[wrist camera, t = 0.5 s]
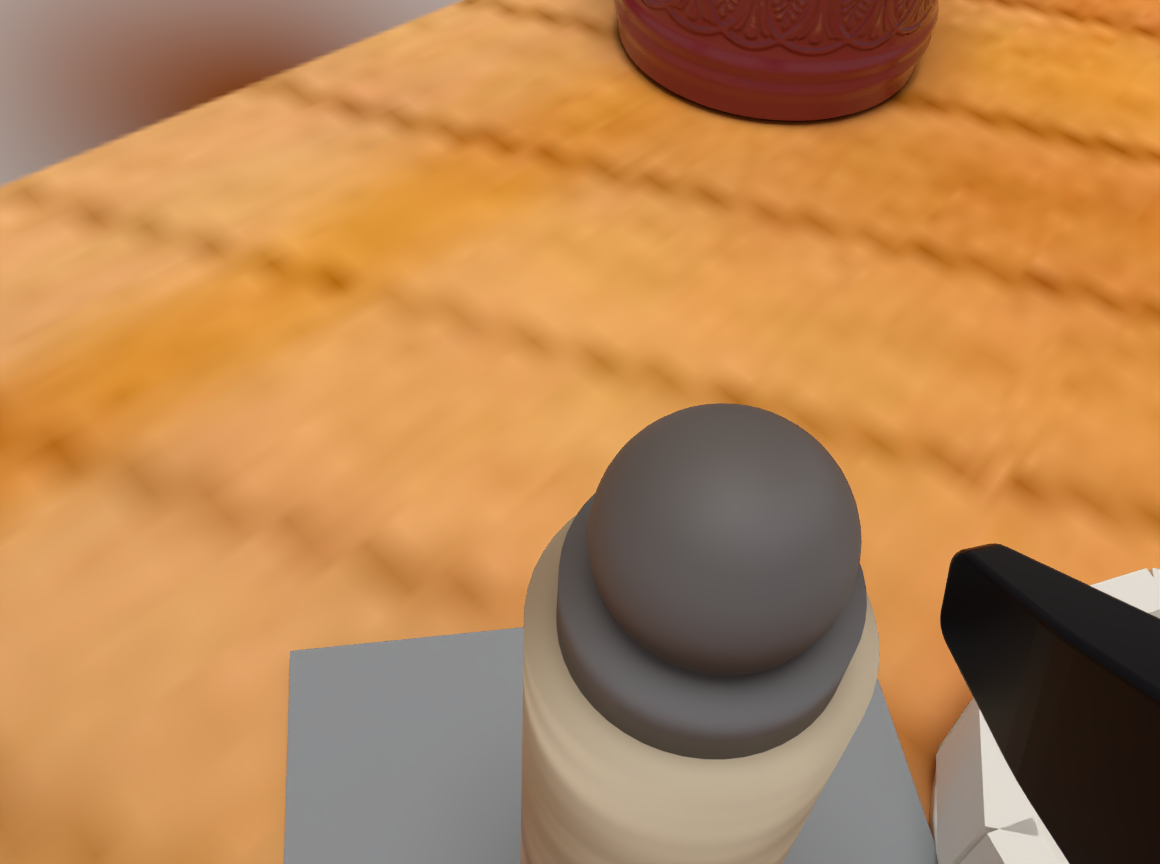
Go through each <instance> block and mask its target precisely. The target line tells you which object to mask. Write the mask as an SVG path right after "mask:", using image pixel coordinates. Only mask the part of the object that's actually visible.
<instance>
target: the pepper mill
mask: <svg viewBox="0 0 1160 864" xmlns="http://www.w3.org/2000/svg"><path fill="white" fill-rule="evenodd" d="M860 554H861V526H860V520H859V515H858V510H857V505H856V502H855V499H854V496H853V494H852V491H851V488H850V486H849V484H848V481H847V480H846V478H845V476H844V474H843V472H842V470H841V469H840V467H839V466H838V464H837V463H836V462H835V460H834V459H833V457H832V456H831V455H830V454H829V452H828V451H827V450H826V449H825V448H824V447H823V446H822V445H821V444H820V443H819V442H818V441H817V440H816V439H815V438H814V437H813V436H811V435H810V434H809V433H808V432H806V431H805V430H804V429H802V428H801V427H799V426H798V425H796V424H794V423H792V422H791V421H789V420H787V419H785V418H783V417H781V416H779V415H777V414H774V413H772V412H769V411H766V410H763V409H760V408H756V407H752V406H747V405H739V404H706V405H699V406H694V407H689V408H686V409H683V410H679V411H677V412H674V413H672V414H670V415H667V416H665V417H663V418H661V419H659V420H657V421H655V422H653V423H652V424H650V425H648V426H647V427H646V428H644V429H643V430H642V431H640V432H639V433H638V434H637V435H635V436H634V437H633V438H632V439H631V440H630V441H629V442H628V443H627V444H626V445H625V446H624V447H623V448H622V449H621V450H620V451H619V453H618V454H617V455H616V457H615V458H614V459H613V461H612V462H611V463H610V465H609V466H608V468H607V469H606V471H605V473H604V475H603V477H602V479H601V481H600V484H599V486H598V488H597V490H596V493H595V494H594V495H593V496H592V497H591V498H590V499H589V500H588V501H587V502H586V503H585V504H584V505H583V507H582V508H581V510H580V511H579V512H578V514H577V515H576V516H575V517H573V518H572V519H571V520H570V521H568V522H567V523H566V524H565V526H564V527H563V528H562V529H561V530H560V531H559V532H558V533H557V534H556V535H555V536H554V537H553V539H552V540H551V542H550V543H549V544H548V546H547V547H546V549H545V550H544V551H543V553H542V555H541V557H540V559H539V561H538V563H537V565H536V567H535V568H534V571H533V574H532V577H531V580H530V583H529V586H528V590H527V595H526V601H525V606H524V642H523V718H522V794H521V864H782V863H783V861H784V860H785V858H786V856H787V854H788V852H789V850H790V849H791V847H792V845H793V843H794V841H795V840H796V838H797V836H798V834H799V832H800V830H801V829H802V827H803V825H804V823H805V821H806V820H807V818H808V816H809V814H810V812H811V810H812V809H813V807H814V805H815V803H816V801H817V800H818V798H819V796H820V794H821V792H822V790H823V789H824V787H825V785H826V783H827V781H828V780H829V778H830V776H831V774H832V772H833V771H834V769H835V767H836V765H837V763H838V761H839V760H840V758H841V756H842V754H843V752H844V751H845V749H846V747H847V745H848V743H849V741H850V740H851V738H852V736H853V734H854V732H855V731H856V729H857V727H858V725H859V723H860V721H861V720H862V718H863V716H864V714H865V712H866V709H867V707H868V705H869V702H870V700H871V698H872V695H873V692H874V688H875V684H876V680H877V676H878V666H879V656H880V653H879V636H878V630H877V625H876V620H875V615H874V612H873V609H872V606H871V603H870V600H869V597H868V595H867V592H866V586H865V581H864V576H863V571H862V568H861V566H860Z"/></svg>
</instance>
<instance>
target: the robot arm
mask: <svg viewBox="0 0 1160 864" xmlns="http://www.w3.org/2000/svg"><path fill="white" fill-rule="evenodd" d="M940 621H941V629H942V633H943V636H944V639H945V641H946V644H947V646H948V648H949V650H950V652H951V654H952V656H953V658H954V660H955V662H956V664H957V666H958V668H959V670H960V672H961V674H962V676H963V678H964V679H965V681H966V683H967V685H968V687H969V689H970V691H971V693H972V695H973V697H974V699H975V701H976V703H977V705H978V707H979V709H980V711H981V713H982V715H983V717H984V719H985V721H986V723H987V725H988V727H989V729H990V731H991V733H992V735H993V737H994V739H995V741H996V743H997V745H998V747H999V749H1000V751H1001V753H1002V755H1003V757H1004V759H1005V760H1006V762H1007V764H1008V766H1009V768H1010V770H1011V772H1012V773H1013V775H1014V777H1015V779H1016V781H1017V782H1018V784H1019V786H1020V787H1021V789H1022V790H1023V792H1024V794H1025V795H1026V797H1027V799H1028V800H1029V802H1030V803H1031V805H1032V807H1033V808H1034V810H1035V811H1036V813H1037V814H1038V816H1039V817H1040V819H1041V821H1042V822H1043V824H1044V825H1045V827H1046V828H1047V830H1048V831H1049V833H1050V835H1051V836H1052V838H1053V839H1054V841H1055V842H1056V844H1057V845H1058V847H1059V849H1060V850H1061V852H1062V853H1063V855H1064V856H1065V858H1066V859H1067V861H1068V863H1069V864H1160V618H1158V617H1156V616H1153V615H1151V614H1149V613H1147V612H1145V611H1143V610H1141V609H1138V608H1136V607H1134V606H1132V605H1130V604H1128V603H1126V602H1124V601H1121V600H1119V599H1117V598H1115V597H1113V596H1111V595H1109V594H1106V593H1104V592H1102V591H1100V590H1098V589H1096V588H1094V587H1091V586H1089V585H1087V584H1085V583H1083V582H1081V581H1079V580H1077V579H1074V578H1072V577H1070V576H1068V575H1066V574H1064V573H1062V572H1059V571H1057V570H1055V569H1053V568H1051V567H1049V566H1047V565H1045V564H1042V563H1040V562H1038V561H1036V560H1034V559H1032V558H1030V557H1027V556H1025V555H1023V554H1021V553H1019V552H1017V551H1015V550H1012V549H1010V548H1008V547H1006V546H1003V545H1001V544H987V545H982V546H977V547H973V548H968V549H963V550H960V551H959V552H957V553H956V554H955V555H954V557H953V558H952V560H951V563H950V567H949V573H948V578H947V583H946V588H945V593H944V598H943V604H942V609H941V616H940Z"/></svg>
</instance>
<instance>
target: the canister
mask: <svg viewBox="0 0 1160 864" xmlns="http://www.w3.org/2000/svg"><path fill="white" fill-rule="evenodd" d="M614 3H615V9H616V13H617V16H618V30H619V36H620V40H621V42H622V45H623V47H624V49H625V51H626V52H627V54H628V55H629V57H630V58H631V59H632V60H633V62H634V63H635V64H636V65H637V66H638V67H639V68H640V69H641V70H642V71H643V72H644V73H646V74H647V75H648V76H649V77H650V78H652V79H653V80H655V81H656V82H657V83H659V84H660V85H662V86H663V87H665V88H667V89H668V90H670V91H672V92H674V93H676V94H678V95H680V96H682V97H684V98H686V99H688V100H691V101H693V102H696V103H698V104H701V105H704V106H706V107H709V108H713V109H716V110H719V111H723V112H727V113H731V114H736V115H741V116H746V117H752V118H758V119H767V120H781V121H808V120H820V119H828V118H834V117H840V116H845V115H849V114H853V113H856V112H859V111H863V110H865V109H868V108H871V107H873V106H875V105H877V104H879V103H881V102H883V101H885V100H887V99H888V98H890V97H891V96H893V95H894V94H895V93H897V92H898V91H899V90H900V89H901V88H902V87H903V86H904V85H905V84H906V82H907V81H908V80H909V78H910V76H911V75H912V73H913V70H914V68H915V65H916V63H917V62H918V61H919V59H920V58H921V57H922V55H923V54H924V52H925V50H926V49H927V47H928V45H929V42H930V39H931V34H932V30H933V28H934V26H935V24H936V21H937V16H938V0H614Z"/></svg>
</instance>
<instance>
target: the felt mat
mask: <svg viewBox="0 0 1160 864" xmlns="http://www.w3.org/2000/svg"><path fill="white" fill-rule="evenodd" d="M523 642H524V627H522V628H512V629H502V630H492V631H482V632H473V633H463V634H453V635H443V636H433V637H423V638H414V639H404V640H394V641H384V642H374V643H364V644H355V645H345V646H335V647H325V648H315V649H305V650H296V651H290V678H289V712H288V746H287V780H286V814H285V848H284V864H521V794H522V718H523ZM782 864H938V859H937V855H936V848H935V843H934V840H933V837H932V834H931V831H930V828H929V825H928V822H927V820H926V817H925V814H924V811H923V808H922V805H921V802H920V799H919V796H918V794H917V791H916V788H915V785H914V782H913V779H912V776H911V773H910V770H909V768H908V765H907V762H906V759H905V756H904V753H903V750H902V747H901V744H900V742H899V739H898V736H897V733H896V730H895V727H894V724H893V721H892V718H891V716H890V713H889V710H888V707H887V704H886V701H885V698H884V695H883V692H882V690H881V687H880V684H879V681H878V678H877V680H876V684H875V688H874V692H873V695H872V698H871V700H870V702H869V705H868V707H867V709H866V712H865V714H864V716H863V718H862V720H861V721H860V723H859V725H858V727H857V729H856V731H855V732H854V734H853V736H852V738H851V740H850V741H849V743H848V745H847V747H846V749H845V751H844V752H843V754H842V756H841V758H840V760H839V761H838V763H837V765H836V767H835V769H834V771H833V772H832V774H831V776H830V778H829V780H828V781H827V783H826V785H825V787H824V789H823V790H822V792H821V794H820V796H819V798H818V800H817V801H816V803H815V805H814V807H813V809H812V810H811V812H810V814H809V816H808V818H807V820H806V821H805V823H804V825H803V827H802V829H801V830H800V832H799V834H798V836H797V838H796V840H795V841H794V843H793V845H792V847H791V849H790V850H789V852H788V854H787V856H786V858H785V860H784V861H783V863H782Z"/></svg>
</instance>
